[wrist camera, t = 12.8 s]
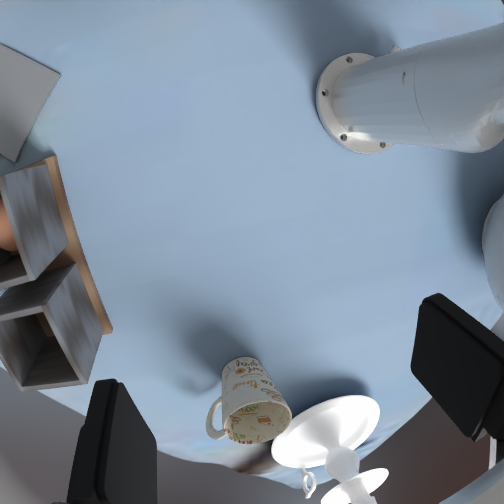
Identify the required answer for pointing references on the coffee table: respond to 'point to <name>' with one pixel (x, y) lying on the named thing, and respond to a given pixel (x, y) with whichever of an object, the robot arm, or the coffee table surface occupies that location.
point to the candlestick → (333, 447)
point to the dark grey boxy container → (46, 286)
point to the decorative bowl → (495, 250)
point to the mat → (21, 98)
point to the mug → (249, 404)
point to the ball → (6, 231)
